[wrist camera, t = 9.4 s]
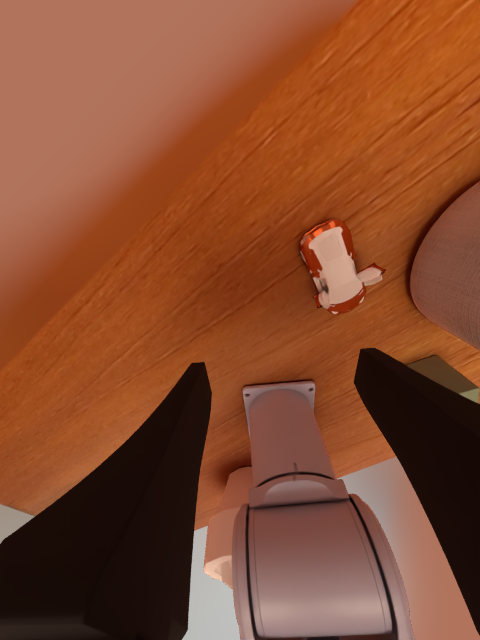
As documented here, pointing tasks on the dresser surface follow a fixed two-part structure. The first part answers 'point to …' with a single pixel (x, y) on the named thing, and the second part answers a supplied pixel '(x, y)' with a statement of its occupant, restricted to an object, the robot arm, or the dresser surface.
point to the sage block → (446, 376)
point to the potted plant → (226, 526)
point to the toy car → (336, 267)
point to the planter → (451, 270)
